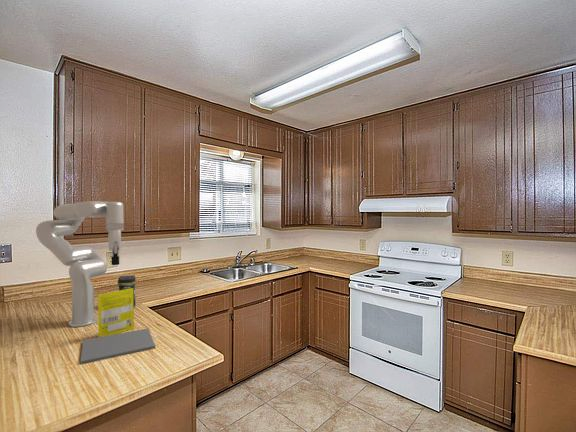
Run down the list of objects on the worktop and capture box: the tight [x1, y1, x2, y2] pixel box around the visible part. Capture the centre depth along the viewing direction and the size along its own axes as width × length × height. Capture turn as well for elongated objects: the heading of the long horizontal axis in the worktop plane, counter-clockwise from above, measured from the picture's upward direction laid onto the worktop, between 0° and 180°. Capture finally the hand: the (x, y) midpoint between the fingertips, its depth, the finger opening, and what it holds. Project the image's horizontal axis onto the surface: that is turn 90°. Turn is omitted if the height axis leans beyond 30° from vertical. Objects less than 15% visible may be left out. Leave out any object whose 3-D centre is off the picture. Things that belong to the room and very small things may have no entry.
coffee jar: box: [117, 274, 137, 307], centre depth 183 cm, size 10×8×19 cm
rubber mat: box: [80, 328, 156, 365], centre depth 132 cm, size 22×26×1 cm
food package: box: [97, 288, 135, 337], centre depth 144 cm, size 15×1×20 cm, turn 141°
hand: (115, 264), depth 151 cm, fingers closed
